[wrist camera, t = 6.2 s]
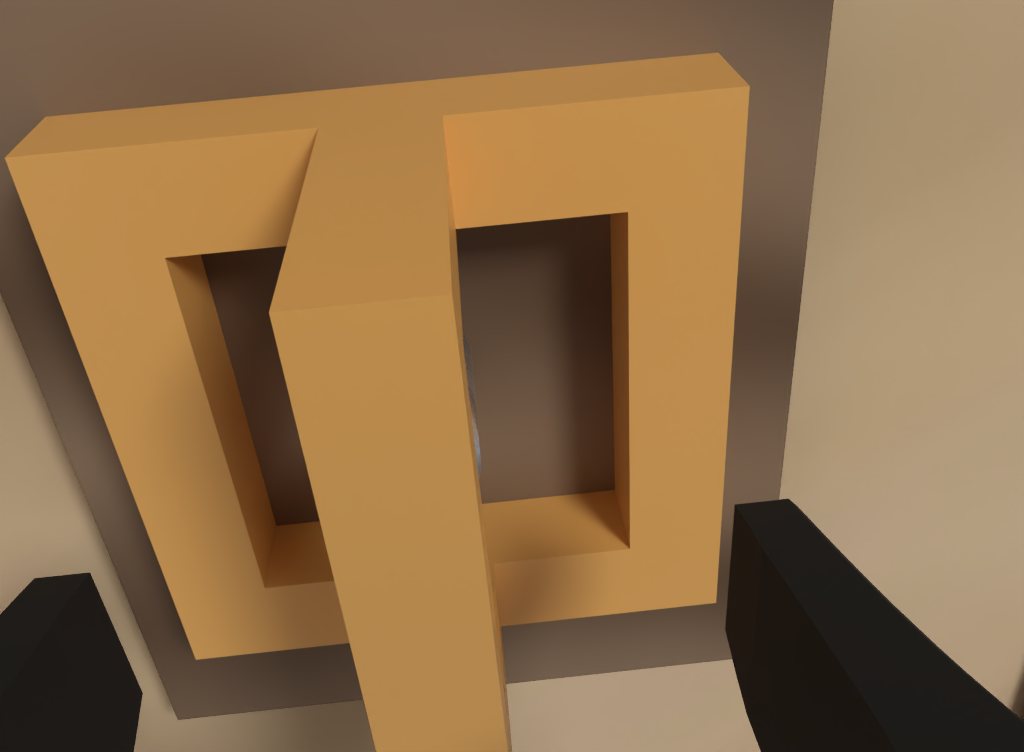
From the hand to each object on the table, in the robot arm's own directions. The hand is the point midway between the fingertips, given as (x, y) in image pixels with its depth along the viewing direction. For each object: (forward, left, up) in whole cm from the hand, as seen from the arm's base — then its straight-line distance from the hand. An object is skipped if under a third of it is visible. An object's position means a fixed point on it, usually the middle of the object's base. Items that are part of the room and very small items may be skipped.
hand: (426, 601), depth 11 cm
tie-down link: (0, 0, -5) cm, 5 cm away
